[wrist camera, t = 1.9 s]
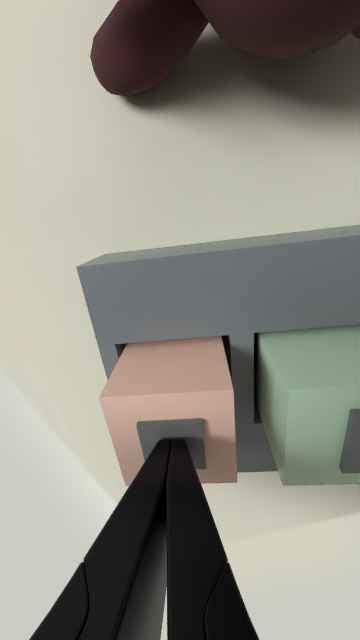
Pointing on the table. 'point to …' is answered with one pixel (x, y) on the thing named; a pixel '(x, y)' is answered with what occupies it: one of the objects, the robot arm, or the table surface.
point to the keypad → (226, 304)
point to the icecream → (227, 20)
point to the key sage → (311, 403)
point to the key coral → (173, 405)
